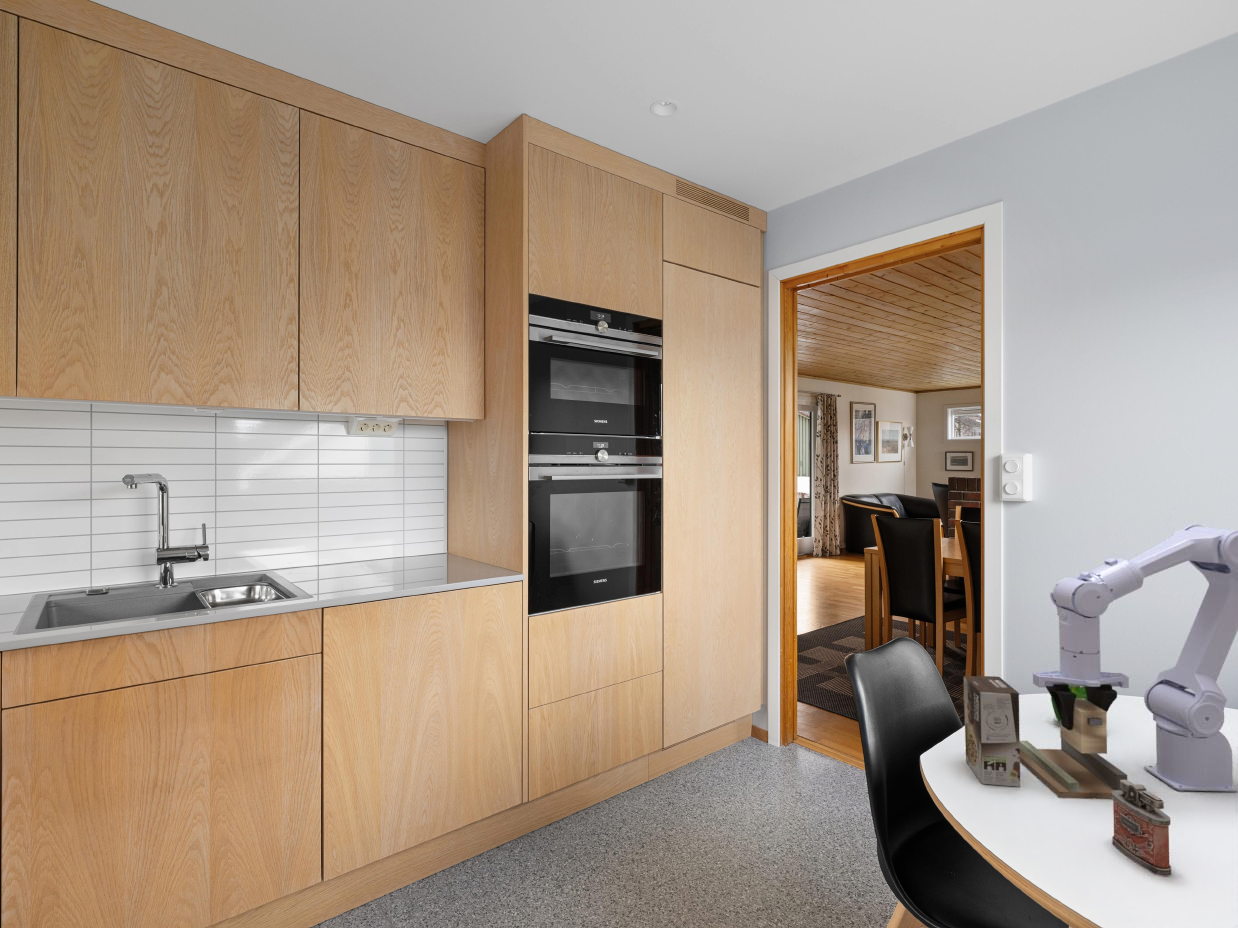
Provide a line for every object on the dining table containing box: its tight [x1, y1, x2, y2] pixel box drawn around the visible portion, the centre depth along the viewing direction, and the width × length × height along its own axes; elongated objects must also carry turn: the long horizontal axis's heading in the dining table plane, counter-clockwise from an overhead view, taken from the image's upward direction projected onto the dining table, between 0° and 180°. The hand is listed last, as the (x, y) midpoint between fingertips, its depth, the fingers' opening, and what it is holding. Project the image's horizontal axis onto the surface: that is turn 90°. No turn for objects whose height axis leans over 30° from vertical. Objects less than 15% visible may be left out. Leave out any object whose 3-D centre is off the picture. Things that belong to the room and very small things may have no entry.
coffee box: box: [963, 675, 1021, 788], centre depth 116 cm, size 9×6×16 cm
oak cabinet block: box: [1059, 698, 1108, 755], centre depth 111 cm, size 4×7×7 cm, turn 175°
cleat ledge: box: [1020, 738, 1128, 800], centre depth 115 cm, size 12×16×4 cm
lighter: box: [1111, 779, 1172, 877], centre depth 91 cm, size 8×3×10 cm, turn 5°
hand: (1081, 727), depth 112 cm, fingers closed on oak cabinet block, 4 cm apart
